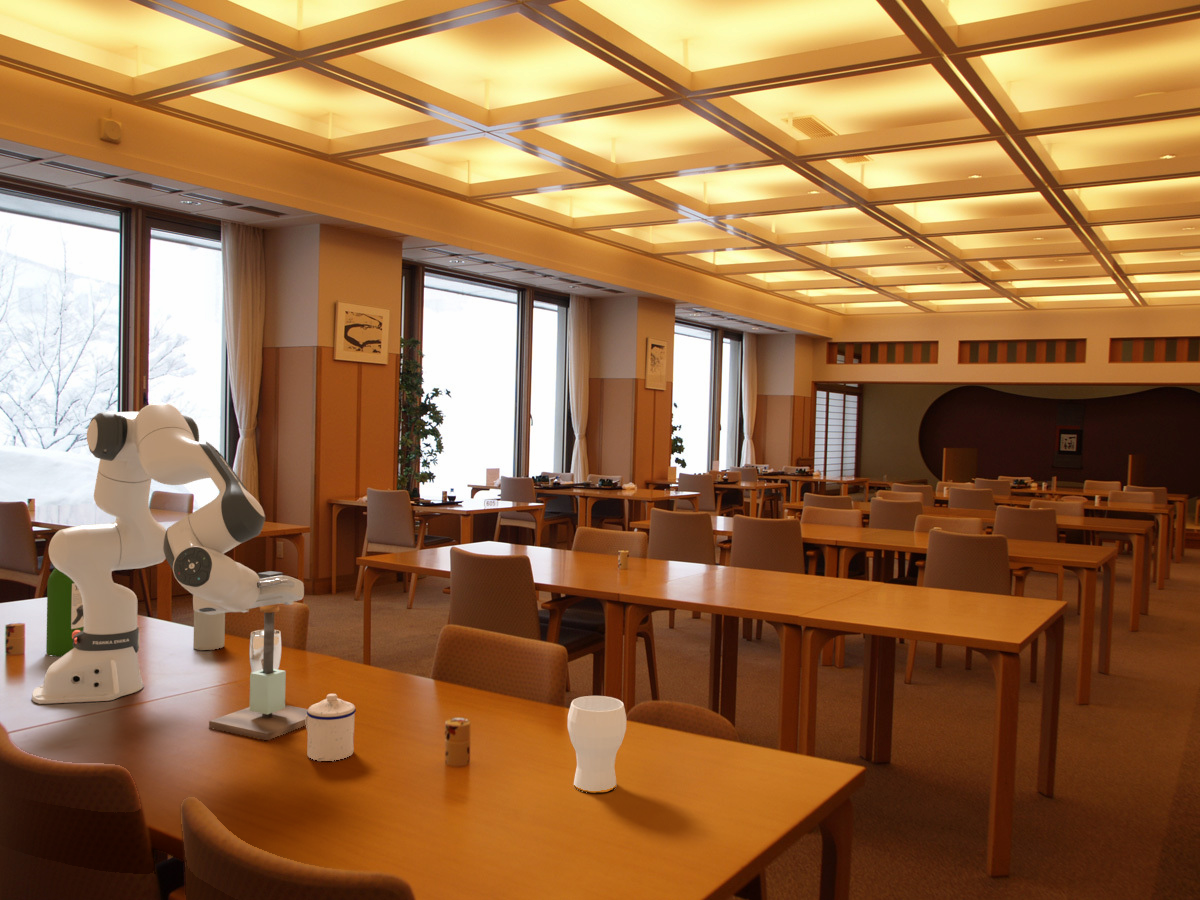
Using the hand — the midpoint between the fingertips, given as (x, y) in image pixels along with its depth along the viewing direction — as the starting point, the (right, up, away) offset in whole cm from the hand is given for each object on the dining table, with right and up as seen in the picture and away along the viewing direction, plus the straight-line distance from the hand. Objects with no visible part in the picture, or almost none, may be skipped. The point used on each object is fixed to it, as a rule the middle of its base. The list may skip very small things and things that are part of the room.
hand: (268, 604), depth 190 cm
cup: (+68, -29, -24) cm, 78 cm away
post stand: (-2, -26, +4) cm, 26 cm away
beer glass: (-9, -25, +23) cm, 35 cm away
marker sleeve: (-2, -23, +4) cm, 23 cm away
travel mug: (-41, -23, +66) cm, 81 cm away
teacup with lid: (+15, -27, -12) cm, 33 cm away
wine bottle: (-75, -23, +56) cm, 96 cm away
